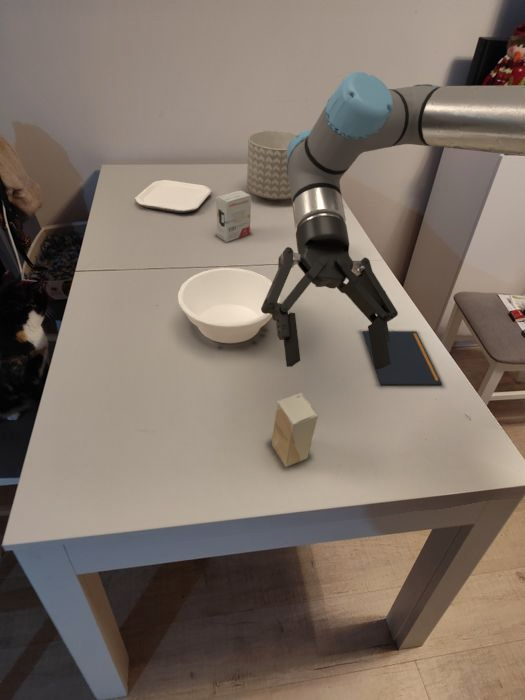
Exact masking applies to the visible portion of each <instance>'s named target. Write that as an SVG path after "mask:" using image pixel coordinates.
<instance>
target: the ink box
mask: <svg viewBox="0 0 525 700" xmlns="http://www.w3.org/2000/svg"><path fill="white" fill-rule="evenodd" d="M251 209H252V195H251V194H249V193H247V192H245V191H244V190H241V189H240V190H236V191H232V192H229V193H225V194H221V195H217V196H216V233H217V235H216V236H217V237H219V238H220V239H221V240H223V241H224V242H226V243H228V242H231V241H234V240H237V239H240V238H243V237H246V236H248V235H250V234H251Z"/></svg>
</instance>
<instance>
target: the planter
mask: <svg viewBox="0 0 525 700" xmlns="http://www.w3.org/2000/svg"><path fill="white" fill-rule="evenodd" d="M299 134H300V133H296V132H291V131H283V130H262V131H257V132H253V133H252V134H250V135H249V136H248V138H247V139H248V141H247V142H248V145H247V173H246V175H247V176H246V177H247V179H246V188H247V190H248V191H249V192H250V193H252V194H254V195H255V196H258V197H260V198H261V199H264V200H267V201H271V202H283V201H286V200H289V199H291V191H290V184H289V177H288V173H287V148H288V145H289V143H290V141H291V140H292V139H293V138H294V137H297V136H298V135H299Z"/></svg>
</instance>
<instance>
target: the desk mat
mask: <svg viewBox="0 0 525 700" xmlns="http://www.w3.org/2000/svg"><path fill="white" fill-rule="evenodd" d="M362 335H363V338H364V341H365V344H366V346H367V350H368V353H369V356H370V358H371V362H372V364H373V365H374V361H373V355H372V349H371V343H370V337H369V331H368V330H363V331H362ZM389 336H390V342H389V343H387V345H388V351H389V356H390V362H391V364H389V365H387V366H385V367H383V368H381V369H375V368H374V370H375V373H376V376H377V378H378V382H379V384H380V386H442V385H443V382H442V381H441V379H440V377H439V374H438V373H437V371H436V368H435V367H434V366H435V365H433V363H432V360H431V358H430V356H429V354H428V352H427V350H426V348H425V346H424V344H423V342H422V339H421V338H420V336H419V334H418V332H417V331H407V330H405V331H401V330H399V331H398V330H396V331H394V330H389Z"/></svg>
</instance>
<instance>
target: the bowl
mask: <svg viewBox="0 0 525 700" xmlns="http://www.w3.org/2000/svg"><path fill="white" fill-rule="evenodd" d="M272 282H273V280H271V279H269V278H268V277H266V276H265V275H262V274H260V273H258V272H256V271H253V270H249V269H244V268H236V267H221V268H220V267H218V268H212V269H208V270H204V271H201V272H199V273H196V274H194V275H192V276H191V277H189V278H188V279H186V280H185V281H184V282H183V284H181V286H180V287H179V289H178V290H179V291H178V293H177V302H178V305H179V307H180V309H181V310H182V311H183V312H184V314H185V315H186V318H188V320H189V321H190V322H191V323H192V324H193V325H194V326H196V327H197V328H198V330H199V332H200V333H201V334H202V336H204V337H205V338H208V339H209V340H211V341H214V342H217V343H221V344H237V343H243V342H246V341H249V340H250V339H252V338H254V337H255V336H257V334H258V333H259V332H260V330H261V328H262V327H263V326H265V325H266V324H267V323H268V322H269V321H270V320H271V319H272V314H269V313H267V314H264V313H263V312H262V311H261V307H262V305H263V303H264V300H265V298H266V296H267V294H268V291H269V289H270V287H271V285H272ZM281 296H282V295H280V296H279V298H278V301H277V303H280V304H281V299H282V298H281Z"/></svg>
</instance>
